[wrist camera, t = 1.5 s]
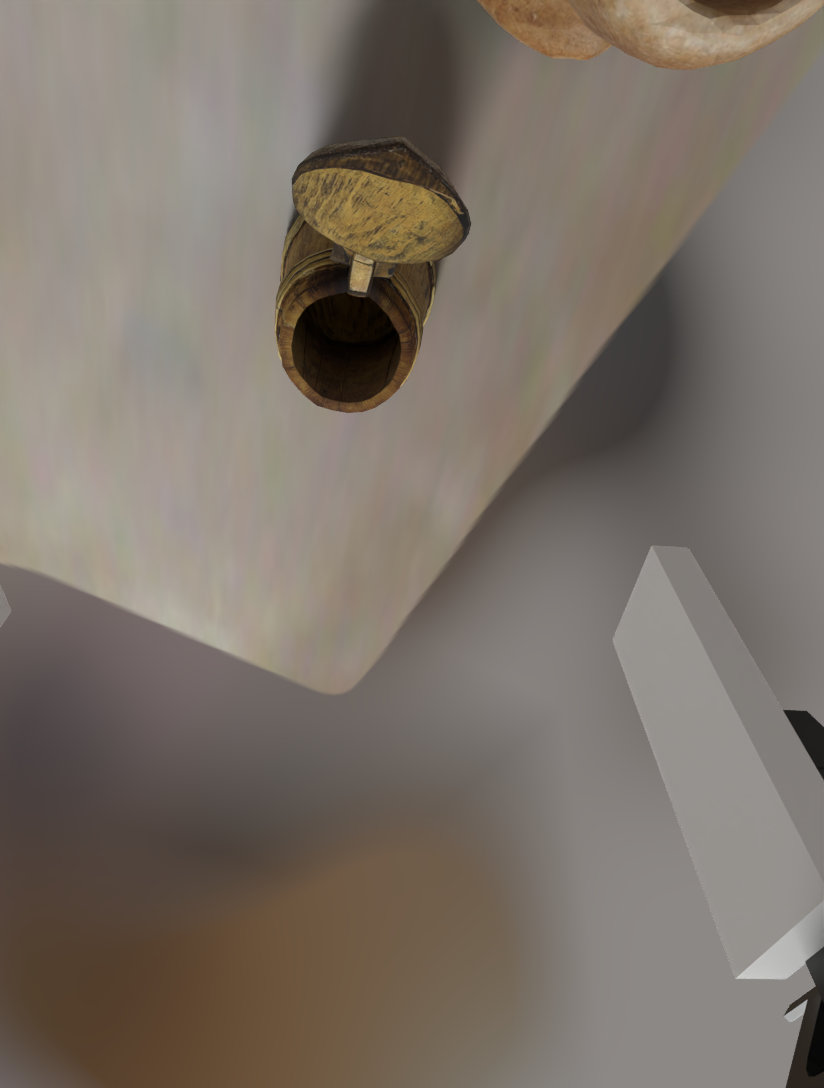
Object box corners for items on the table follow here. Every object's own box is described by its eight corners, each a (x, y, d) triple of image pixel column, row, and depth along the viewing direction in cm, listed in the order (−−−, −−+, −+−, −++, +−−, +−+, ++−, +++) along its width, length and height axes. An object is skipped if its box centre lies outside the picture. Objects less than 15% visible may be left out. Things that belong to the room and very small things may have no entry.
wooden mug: (485, 126, 32) (555, 190, 18) (411, 370, 40) (420, 546, 26) (312, 65, 31) (241, 82, 16) (271, 332, 39) (199, 498, 24)
